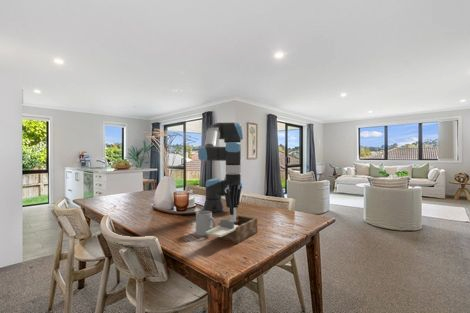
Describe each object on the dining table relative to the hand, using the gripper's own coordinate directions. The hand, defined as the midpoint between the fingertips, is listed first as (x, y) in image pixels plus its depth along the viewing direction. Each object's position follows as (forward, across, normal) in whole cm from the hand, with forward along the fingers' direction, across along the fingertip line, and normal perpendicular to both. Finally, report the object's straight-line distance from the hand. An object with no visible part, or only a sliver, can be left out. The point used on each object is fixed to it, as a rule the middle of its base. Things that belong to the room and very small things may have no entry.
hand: (232, 220), depth 114 cm
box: (+9, -5, 0) cm, 10 cm away
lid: (+3, +8, 0) cm, 8 cm away
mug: (+9, +3, -15) cm, 18 cm away
